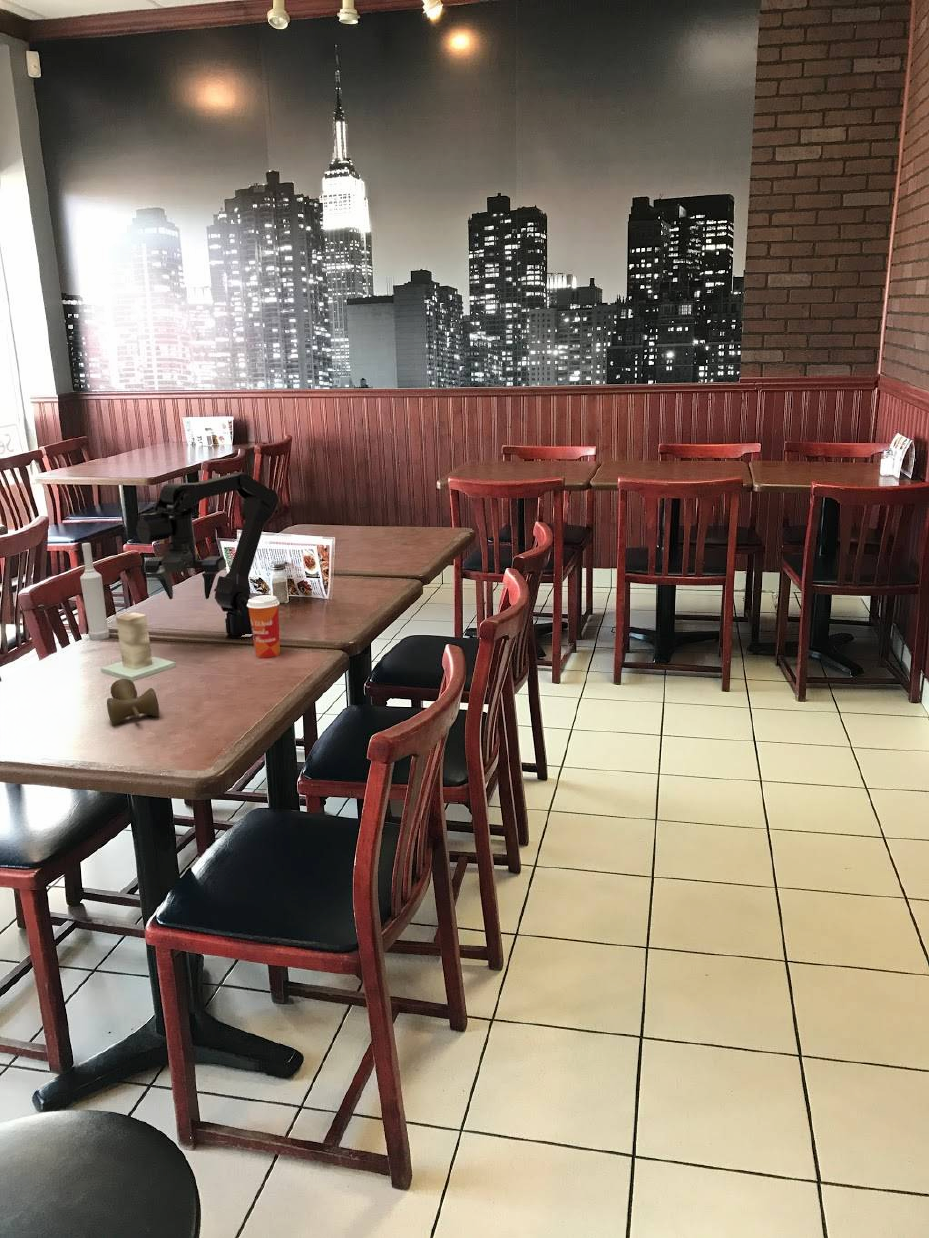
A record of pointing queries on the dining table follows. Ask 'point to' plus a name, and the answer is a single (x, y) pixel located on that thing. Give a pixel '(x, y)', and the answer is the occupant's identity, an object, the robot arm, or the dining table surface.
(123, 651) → the birch block
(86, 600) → the bottle
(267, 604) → the paper cup
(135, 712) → the kendama
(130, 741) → the dining table surface
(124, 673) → the sage pad
